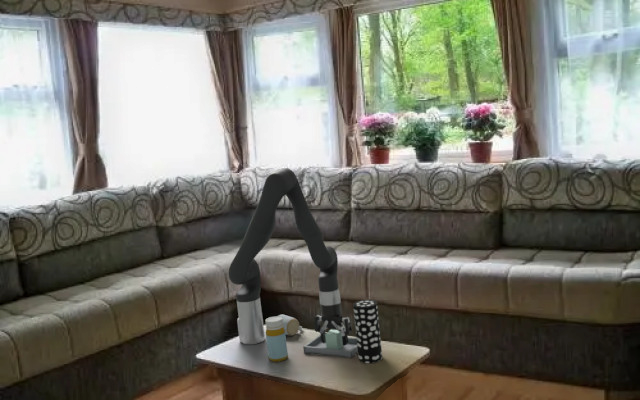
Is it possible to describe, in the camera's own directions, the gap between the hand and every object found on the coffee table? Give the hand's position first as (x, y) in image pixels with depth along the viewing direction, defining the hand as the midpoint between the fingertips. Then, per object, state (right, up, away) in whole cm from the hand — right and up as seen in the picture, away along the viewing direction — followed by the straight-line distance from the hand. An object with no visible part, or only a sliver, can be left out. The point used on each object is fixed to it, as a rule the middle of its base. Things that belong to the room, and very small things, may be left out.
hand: (334, 343), depth 240 cm
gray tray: (0, -2, 0) cm, 2 cm away
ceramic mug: (-18, -1, +23) cm, 29 cm away
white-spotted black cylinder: (+12, -3, -12) cm, 17 cm away
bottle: (-21, -5, -3) cm, 21 cm away
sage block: (0, -2, 0) cm, 2 cm away
